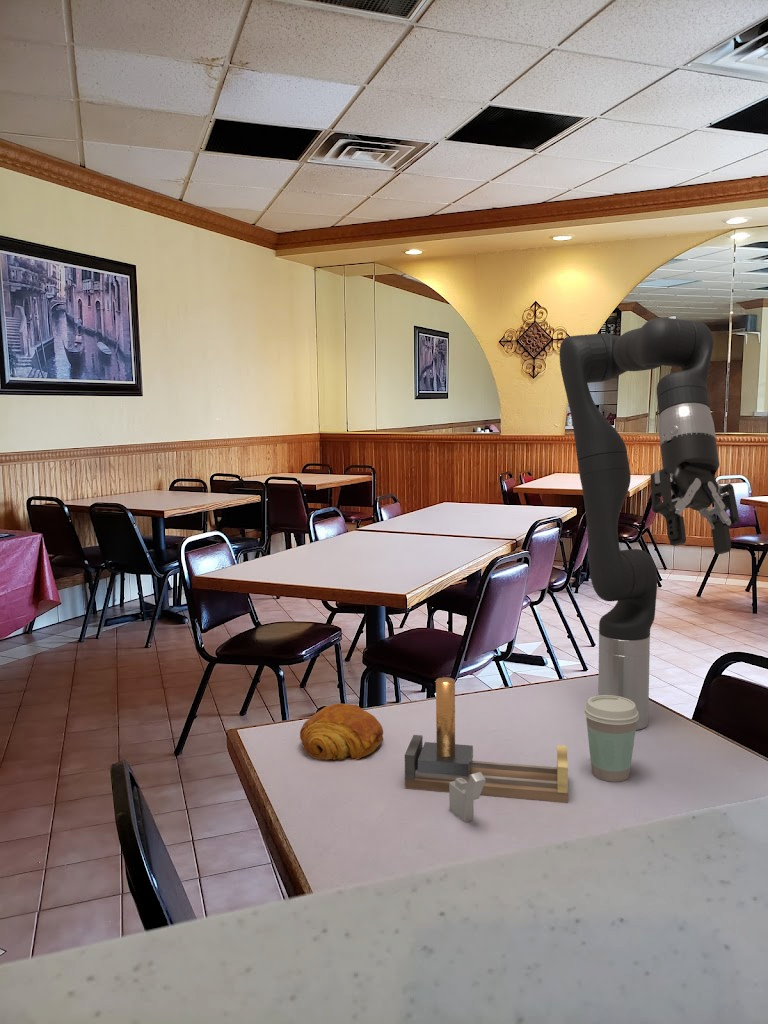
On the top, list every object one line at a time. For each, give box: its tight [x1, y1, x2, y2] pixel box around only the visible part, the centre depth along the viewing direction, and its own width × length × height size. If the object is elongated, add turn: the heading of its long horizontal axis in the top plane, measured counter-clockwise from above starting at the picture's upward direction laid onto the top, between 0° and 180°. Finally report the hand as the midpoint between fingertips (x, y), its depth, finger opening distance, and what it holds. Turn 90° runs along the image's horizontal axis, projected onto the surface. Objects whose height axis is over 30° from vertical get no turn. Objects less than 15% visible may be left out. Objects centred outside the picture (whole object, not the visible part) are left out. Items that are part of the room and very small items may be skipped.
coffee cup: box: [583, 695, 639, 783], centre depth 122 cm, size 8×8×12 cm
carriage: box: [418, 676, 474, 776], centre depth 120 cm, size 7×8×14 cm
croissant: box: [299, 702, 384, 761], centre depth 135 cm, size 14×16×8 cm
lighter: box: [448, 772, 486, 823], centre depth 108 cm, size 7×2×8 cm, turn 27°
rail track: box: [404, 734, 569, 804], centre depth 119 cm, size 8×25×6 cm, turn 78°
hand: (700, 548), depth 104 cm, fingers open, 8 cm apart
